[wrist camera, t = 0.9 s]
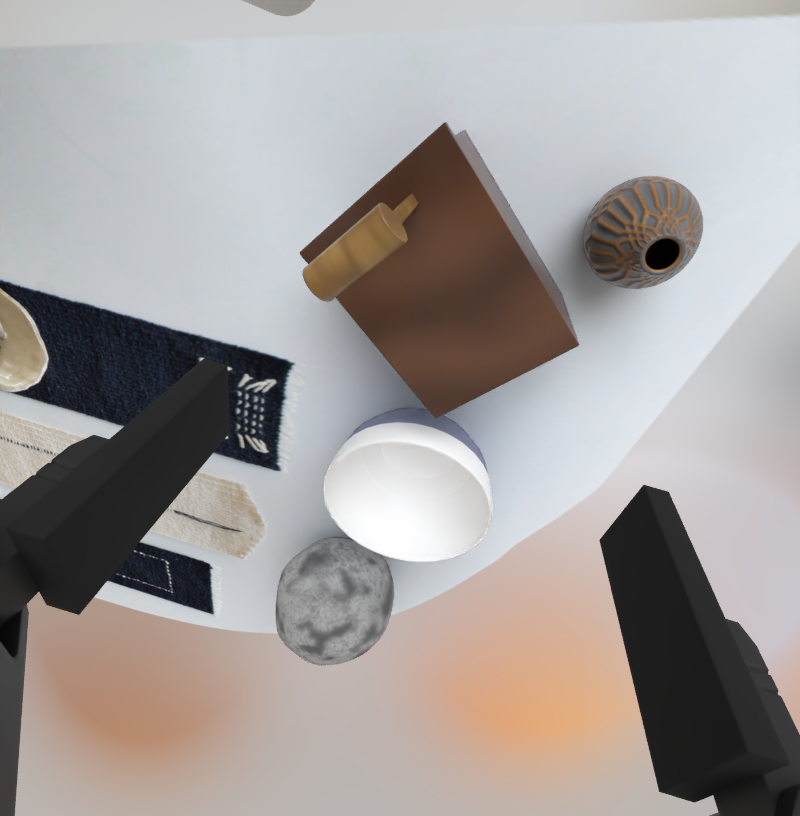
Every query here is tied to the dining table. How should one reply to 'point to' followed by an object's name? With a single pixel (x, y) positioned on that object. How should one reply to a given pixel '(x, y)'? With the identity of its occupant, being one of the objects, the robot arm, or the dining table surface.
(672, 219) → the vase
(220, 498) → the dining table surface
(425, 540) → the bowl
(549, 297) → the lid
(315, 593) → the stone
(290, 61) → the dining table surface
